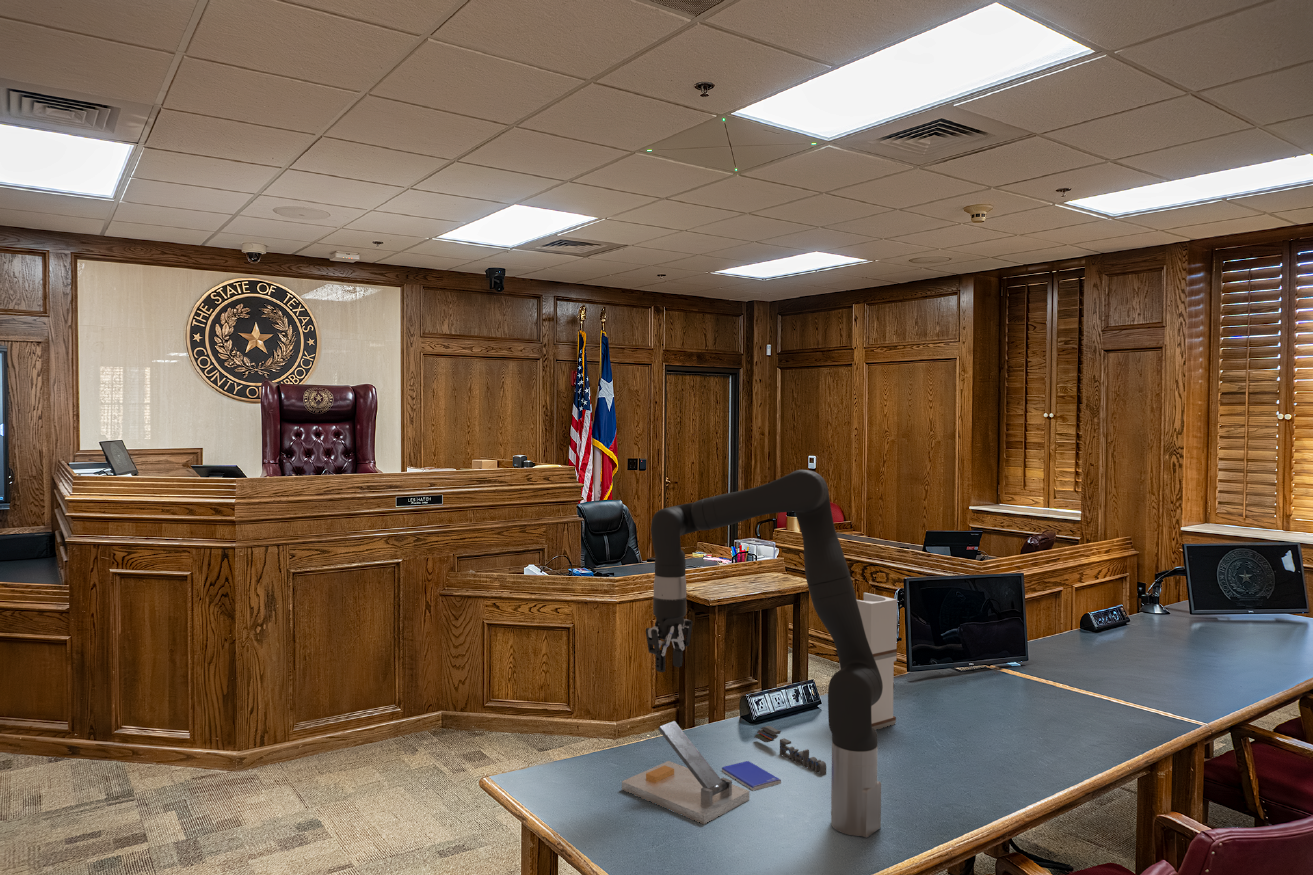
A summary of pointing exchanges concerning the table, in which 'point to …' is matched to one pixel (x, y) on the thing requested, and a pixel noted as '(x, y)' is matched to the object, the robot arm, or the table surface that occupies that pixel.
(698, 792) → the mounting plate
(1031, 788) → the table surface
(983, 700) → the table surface
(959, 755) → the table surface
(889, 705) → the tall open-top box
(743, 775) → the hard drive
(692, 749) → the flat pivoting pedal
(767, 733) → the extruded letter logo
